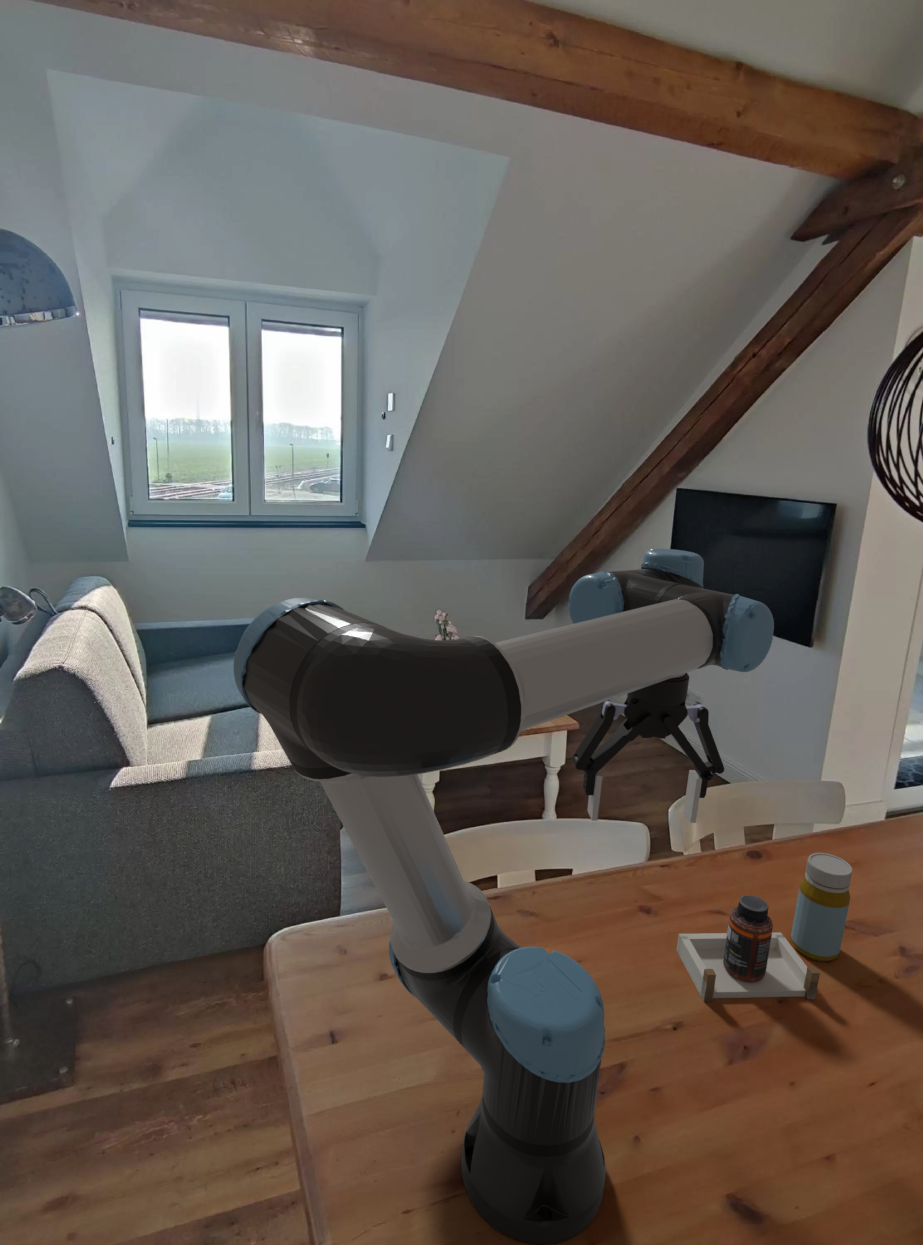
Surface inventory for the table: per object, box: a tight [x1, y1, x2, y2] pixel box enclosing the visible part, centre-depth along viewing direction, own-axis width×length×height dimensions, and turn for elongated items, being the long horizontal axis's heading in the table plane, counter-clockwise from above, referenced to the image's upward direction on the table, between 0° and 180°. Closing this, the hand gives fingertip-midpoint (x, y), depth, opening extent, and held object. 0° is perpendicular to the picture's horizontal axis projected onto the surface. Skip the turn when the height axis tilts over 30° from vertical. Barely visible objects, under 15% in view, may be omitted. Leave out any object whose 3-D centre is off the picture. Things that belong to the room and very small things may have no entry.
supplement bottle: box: [723, 894, 774, 982], centre depth 107 cm, size 6×6×11 cm
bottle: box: [790, 852, 853, 962], centre depth 114 cm, size 7×7×15 cm
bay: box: [676, 932, 821, 1003], centre depth 109 cm, size 11×16×4 cm, turn 95°
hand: (641, 817), depth 101 cm, fingers open, 13 cm apart
